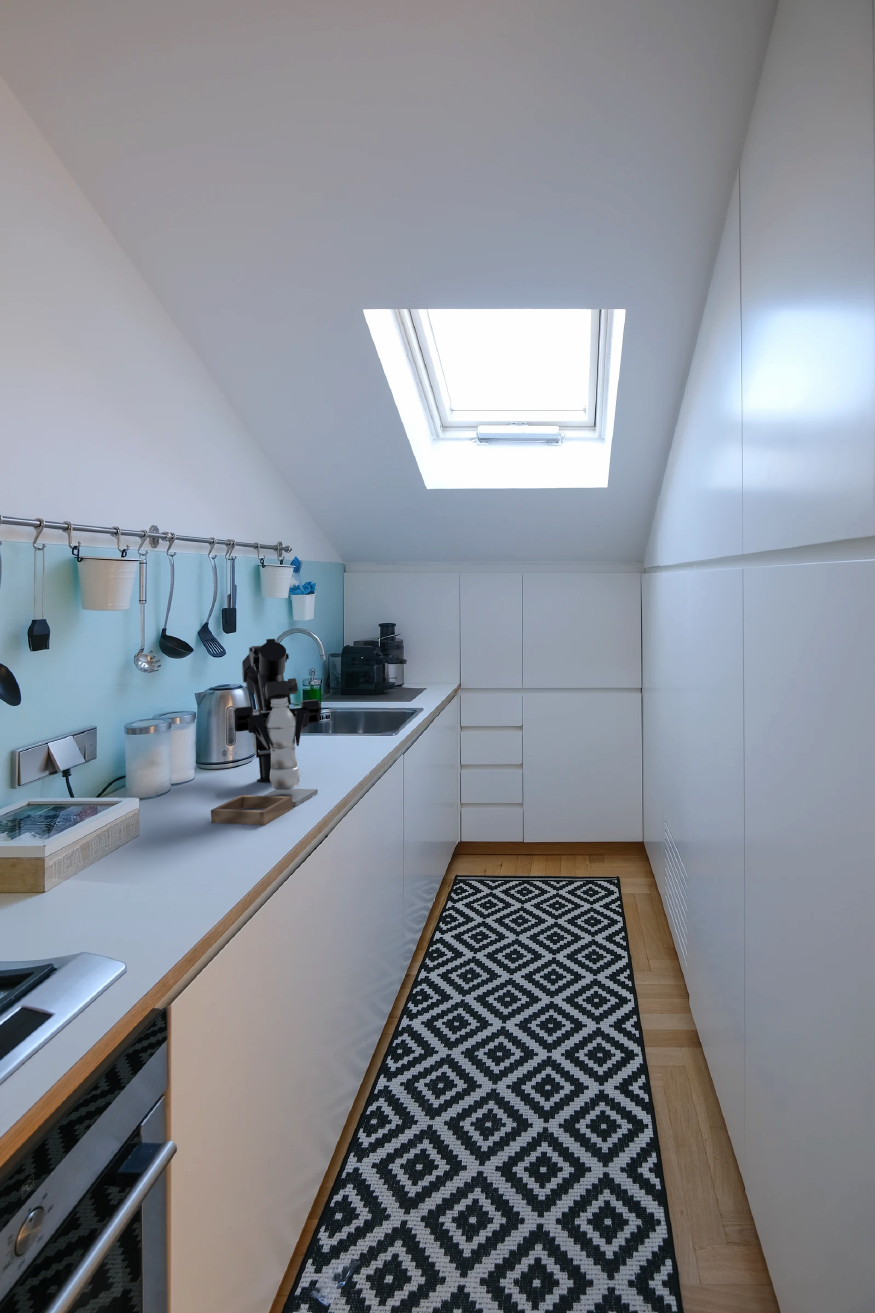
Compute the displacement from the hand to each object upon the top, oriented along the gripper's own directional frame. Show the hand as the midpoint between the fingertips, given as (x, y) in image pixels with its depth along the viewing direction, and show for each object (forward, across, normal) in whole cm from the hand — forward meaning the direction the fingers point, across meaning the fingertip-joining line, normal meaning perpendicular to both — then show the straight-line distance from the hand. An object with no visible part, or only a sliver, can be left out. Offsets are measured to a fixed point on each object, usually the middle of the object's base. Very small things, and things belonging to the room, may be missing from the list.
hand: (283, 746), depth 162 cm
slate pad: (+8, 0, +9) cm, 12 cm away
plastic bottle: (+6, 0, +8) cm, 10 cm away
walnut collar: (+14, -8, +3) cm, 16 cm away
